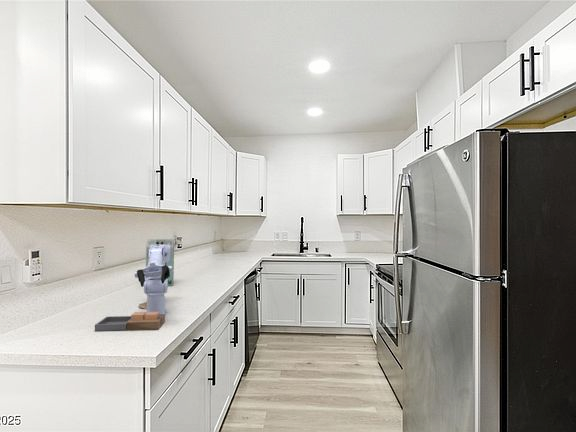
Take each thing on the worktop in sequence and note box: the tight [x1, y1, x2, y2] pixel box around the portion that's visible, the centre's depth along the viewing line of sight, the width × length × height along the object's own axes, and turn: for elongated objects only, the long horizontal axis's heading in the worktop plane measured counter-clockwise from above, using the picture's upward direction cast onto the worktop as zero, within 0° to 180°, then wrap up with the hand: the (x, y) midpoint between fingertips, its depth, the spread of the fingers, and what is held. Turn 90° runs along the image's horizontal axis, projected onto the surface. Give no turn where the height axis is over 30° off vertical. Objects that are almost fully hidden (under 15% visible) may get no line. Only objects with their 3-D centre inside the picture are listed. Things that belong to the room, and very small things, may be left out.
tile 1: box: [130, 311, 147, 320], centre depth 144 cm, size 4×4×2 cm
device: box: [145, 238, 175, 287], centre depth 235 cm, size 16×8×30 cm, turn 104°
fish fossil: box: [138, 301, 147, 310], centre depth 185 cm, size 26×10×1 cm, turn 6°
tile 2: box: [145, 311, 159, 320], centre depth 144 cm, size 4×4×2 cm
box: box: [94, 315, 131, 332], centre depth 142 cm, size 12×11×2 cm
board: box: [126, 313, 166, 332], centre depth 144 cm, size 12×12×3 cm
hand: (152, 282), depth 142 cm, fingers open, 7 cm apart
